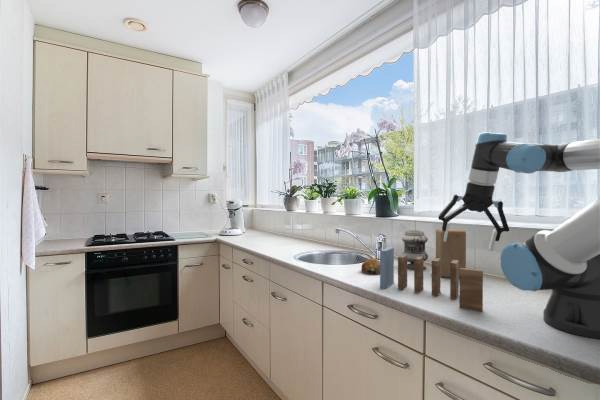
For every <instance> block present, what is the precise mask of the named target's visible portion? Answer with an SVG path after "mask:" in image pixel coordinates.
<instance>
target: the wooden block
mask: <svg viewBox="0 0 600 400" xmlns="http://www.w3.org/2000/svg"><path fill="white" fill-rule="evenodd" d="M444 234H445V231H442V228H436V230H435V258H440V259H441V271H440V278H441V277H442V278H449V279H450V263H451V262H452V260H459V279H460V268H467V233H466V231H464V230H463V229H459V228H449V230H448V235H447V240H446V242H445V241H444Z"/></svg>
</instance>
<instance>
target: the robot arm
mask: <svg viewBox="0 0 600 400" xmlns="http://www.w3.org/2000/svg"><path fill="white" fill-rule="evenodd" d="M507 139H508V136H507V134H506V133H500V132H485V131H483V132H480V133H479V134H478V135H477V139H476V142H475V145H474V151H473V156H472V160H471V166H470V170H469V175H468V182H467V183H466V189H465V191H464V193H465V194H463V195H460V194H458V193H454V194H453V196H452V199H451V200H450V201H449V203H448V204H447V205H446V207H444V208H443V210H442V211H441V212H440V213H439V214H438V220H440V221H442V226H441V229H442V231H445V234H444V241H445V242H446V240H447V235H448V230H449V229H450V224H451V223H450V221H451V220H453V219H454V218H456V217H457V216H459V215H460V214H462V213H463V212H466V211H467V210H468V211H470V212H476V213H477V212H478V213H482V212H484V213H485V215H486V216H487V218H488V219H489V221H490V222H491V224H492V226H494V228H495V229H492V232H491V236H490V242H489V244H488V249H489V251H490V252H493V251H494V246H495V243H496V242H499V241H500V238H501V234H502V233H503V232H505V233H506V232H507V233H508V232H509V231H510V227H509V224H508V221H507V218H506V215H505V211H504V209H503V207H504V202H503V201H502V199H498V200H494V199H493V196H494V192H495V188H496V187H495V184H496V183H497V180H498V175H499V170H500V168H502V169H504V170H509V171H512V172H515V173H523V174H534V173H536V172H555V173H567V172H573V171H582V170H583V171H585V170H586V171H589V170H600V138H594V139H587V140H579V141H571V142H564V143H557V144H554V143H553V144H548V143H547V144H546V143H526V142H524V143H523V142H513V141H507ZM461 200H462V202H463V204H462V205H460V206H459V207H458V208H456V209H455V210H453V211H452V212H451V213H449V212H450V211H451V210H452V208H453V207H454V206H455V205H456V203H457V202H460V201H461ZM492 205H494V207H495V208H496V209H497V212H498V216H499V219H500V221H501V224H502V226H500V224H499V223H498V221H497V220H496V218H495V217H494V215H493V214H492V213H491V211H490V209H489V208H490V207H491V206H492ZM448 213H449V214H448ZM447 214H448V215H447ZM499 259H500V267H501V270H502V273H503V275H504V277H505V279H506V280H507V281H508V282H509V283H510V284H511V286H513V287H514V288H516V289H519V290H521V291H527V292H528V291H531V292H537V291H548V290H551V293H550V296H549V298H548V301H547V303H546V305H545V308H544V310H543V313H542V314H543V318H542V319H543V322H545V323H546V324H547V325H549V326H552V327H553V328H555V329H558V330H561V331H563V332H567V333H570V334H573V335H578V336H581V337H586V338H592V339H598V340H600V196H599V197H597V198H596V199H595V200H593V201H591V203H589V204H588V205H586V206H585V207H583V208H582V209H581V210H579V211H578V212H577V213H576V214H574V215H572V216H571V217H569V218H568V219H567V220H566V221H564V222H562V223H561V224H560V225H557V227H555V228H554V229H553V230H548V229H544V230H540V231H538V232H536V233H535V234H534V235H532V236H531V237H529V239H527V240H525V241H524V242H513V243H510V244H507V245H505V246H504V248H503V249H502V251H501V254H500V258H499Z"/></svg>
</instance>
